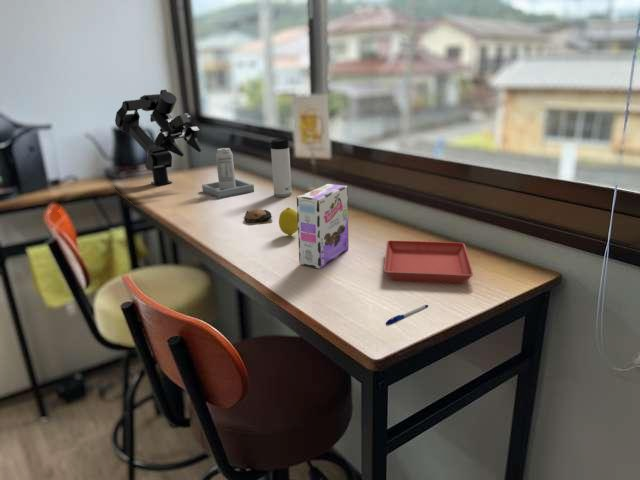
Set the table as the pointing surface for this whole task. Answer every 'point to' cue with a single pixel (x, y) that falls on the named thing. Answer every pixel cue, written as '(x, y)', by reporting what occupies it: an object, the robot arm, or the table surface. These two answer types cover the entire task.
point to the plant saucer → (427, 261)
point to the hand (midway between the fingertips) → (191, 153)
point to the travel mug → (281, 167)
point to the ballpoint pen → (405, 315)
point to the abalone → (257, 217)
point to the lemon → (288, 221)
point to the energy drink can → (225, 168)
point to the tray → (239, 189)
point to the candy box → (322, 225)
